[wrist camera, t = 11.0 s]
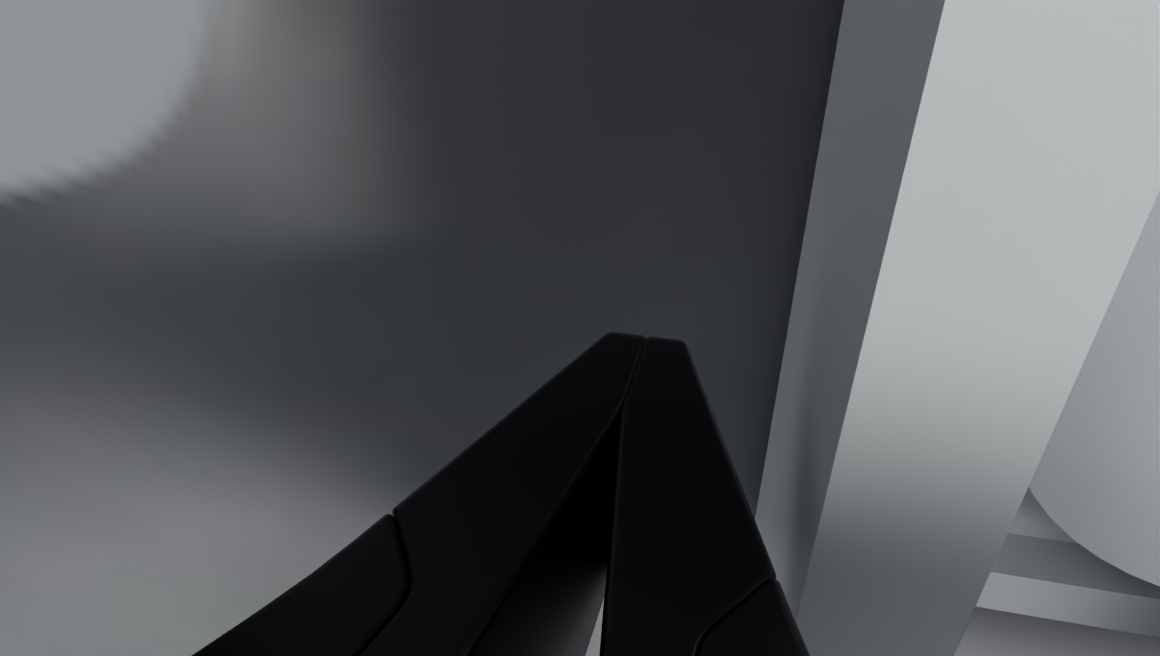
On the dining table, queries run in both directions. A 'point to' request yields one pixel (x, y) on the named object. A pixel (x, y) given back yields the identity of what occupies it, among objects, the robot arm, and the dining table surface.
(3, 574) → the dining table surface
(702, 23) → the dining table surface
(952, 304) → the grey boxy piece
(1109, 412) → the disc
